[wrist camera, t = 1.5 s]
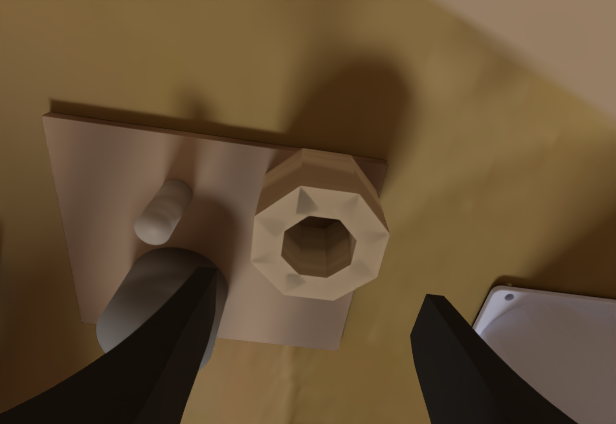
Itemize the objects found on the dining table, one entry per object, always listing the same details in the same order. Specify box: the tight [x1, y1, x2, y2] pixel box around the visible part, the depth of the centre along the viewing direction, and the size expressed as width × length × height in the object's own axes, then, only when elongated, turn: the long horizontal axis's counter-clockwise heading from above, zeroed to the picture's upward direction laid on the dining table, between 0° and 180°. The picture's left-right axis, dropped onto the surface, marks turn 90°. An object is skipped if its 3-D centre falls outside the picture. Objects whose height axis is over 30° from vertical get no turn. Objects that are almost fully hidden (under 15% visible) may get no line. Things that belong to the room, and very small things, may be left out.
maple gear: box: [250, 148, 390, 301], centre depth 18 cm, size 6×6×4 cm
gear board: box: [42, 112, 388, 371], centre depth 20 cm, size 16×13×6 cm
